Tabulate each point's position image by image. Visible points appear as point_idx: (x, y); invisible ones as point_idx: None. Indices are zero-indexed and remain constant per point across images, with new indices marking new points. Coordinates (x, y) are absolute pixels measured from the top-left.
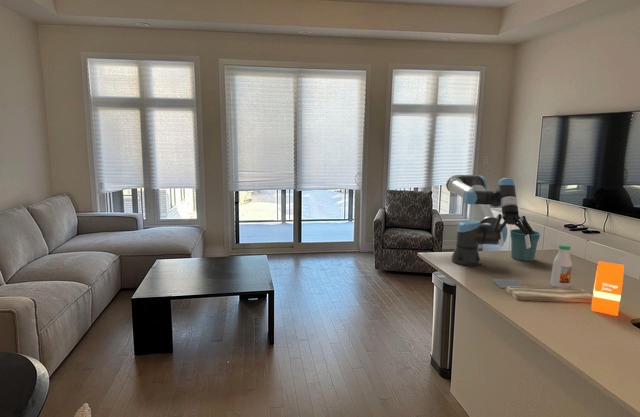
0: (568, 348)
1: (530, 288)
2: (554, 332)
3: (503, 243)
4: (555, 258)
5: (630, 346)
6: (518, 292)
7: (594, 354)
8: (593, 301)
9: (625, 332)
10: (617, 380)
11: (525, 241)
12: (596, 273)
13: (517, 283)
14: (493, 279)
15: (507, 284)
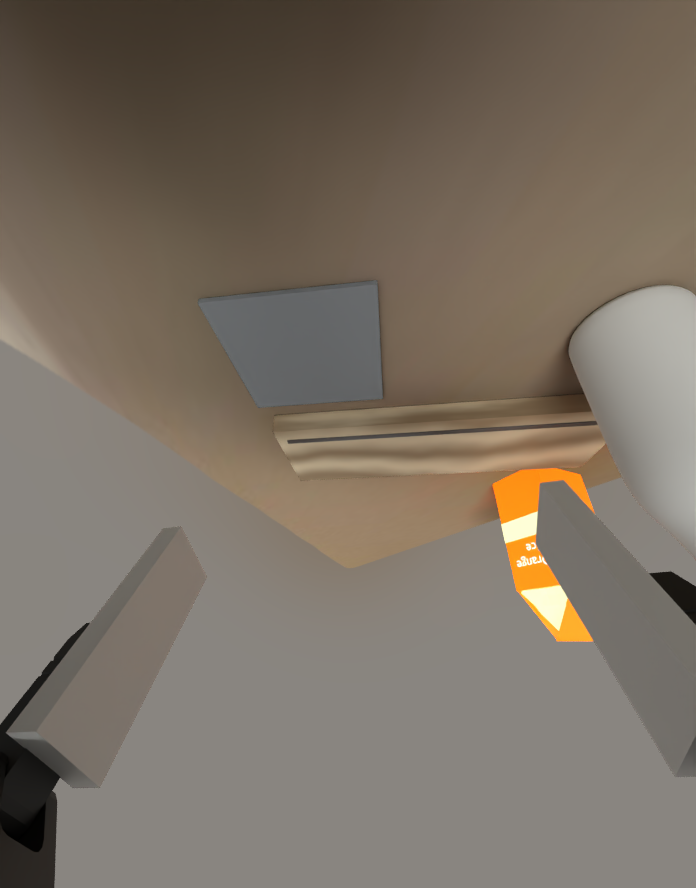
0: (335, 545)
1: (376, 438)
2: (334, 531)
3: (197, 592)
4: (665, 497)
5: (432, 539)
6: (310, 467)
7: (363, 548)
8: (499, 510)
9: (468, 523)
10: (357, 561)
11: (608, 571)
12: (549, 586)
13: (359, 346)
14: (212, 307)
15: (294, 370)
